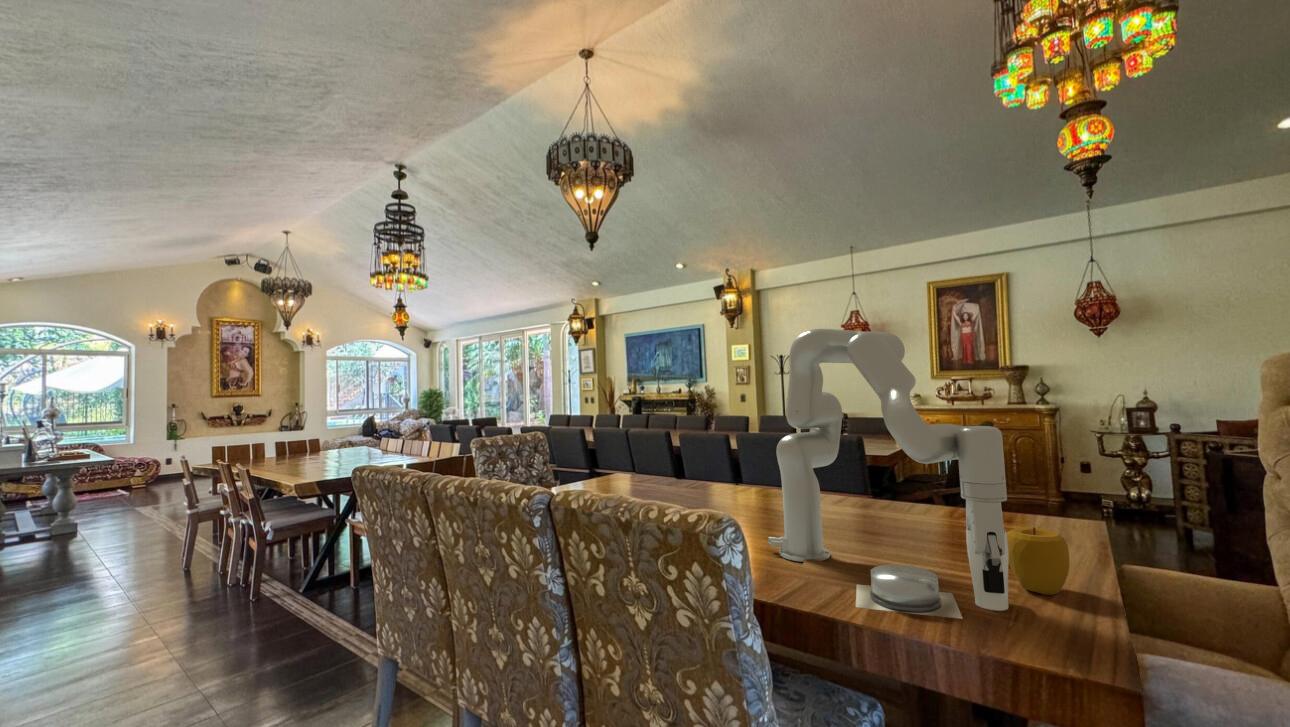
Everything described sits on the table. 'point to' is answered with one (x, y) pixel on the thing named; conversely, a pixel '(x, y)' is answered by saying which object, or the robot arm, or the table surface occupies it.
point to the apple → (1038, 559)
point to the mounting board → (946, 610)
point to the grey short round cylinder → (905, 588)
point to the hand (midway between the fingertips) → (990, 585)
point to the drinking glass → (976, 565)
